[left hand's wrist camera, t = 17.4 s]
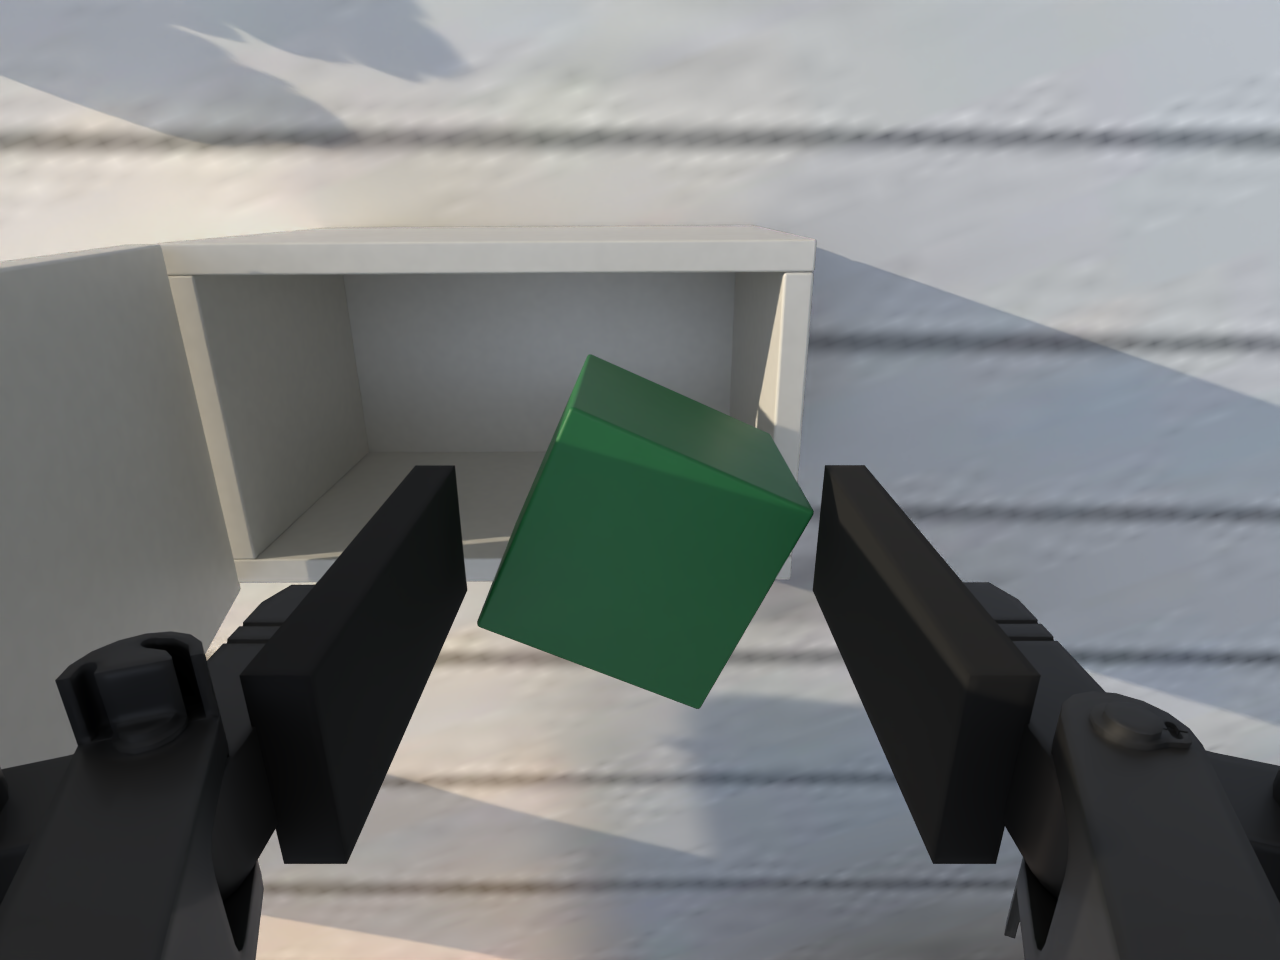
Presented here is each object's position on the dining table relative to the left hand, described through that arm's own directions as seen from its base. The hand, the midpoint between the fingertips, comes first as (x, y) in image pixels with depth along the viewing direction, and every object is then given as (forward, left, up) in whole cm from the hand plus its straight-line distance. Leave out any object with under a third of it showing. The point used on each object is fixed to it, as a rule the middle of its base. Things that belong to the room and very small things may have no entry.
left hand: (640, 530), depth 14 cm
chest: (-1, +4, -18) cm, 18 cm away
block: (0, 0, -3) cm, 3 cm away
